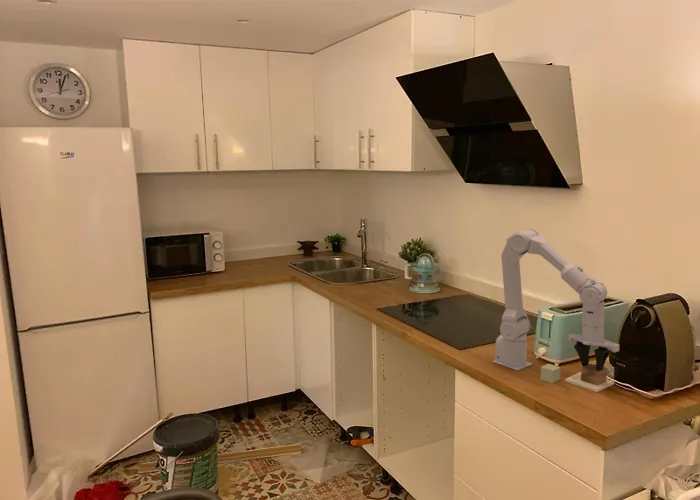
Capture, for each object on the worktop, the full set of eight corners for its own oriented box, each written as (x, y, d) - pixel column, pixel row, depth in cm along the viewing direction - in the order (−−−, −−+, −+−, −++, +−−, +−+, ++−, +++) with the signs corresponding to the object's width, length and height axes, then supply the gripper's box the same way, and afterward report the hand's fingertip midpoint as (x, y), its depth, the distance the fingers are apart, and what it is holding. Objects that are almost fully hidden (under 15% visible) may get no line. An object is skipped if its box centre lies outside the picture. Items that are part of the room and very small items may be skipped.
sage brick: (540, 379, 159) (540, 366, 159) (548, 376, 161) (548, 363, 161) (552, 383, 156) (552, 370, 155) (560, 380, 158) (560, 367, 158)
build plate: (564, 381, 157) (564, 378, 157) (583, 372, 163) (583, 369, 163) (597, 392, 149) (597, 388, 149) (615, 383, 155) (615, 379, 154)
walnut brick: (580, 380, 155) (581, 367, 155) (590, 376, 158) (590, 363, 158) (597, 385, 151) (597, 372, 151) (606, 381, 154) (607, 368, 154)
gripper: (562, 322, 156) (562, 366, 158) (610, 332, 145) (609, 380, 147) (575, 317, 160) (575, 360, 162) (623, 327, 149) (622, 373, 151)
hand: (592, 369), depth 155 cm, fingers closed on walnut brick, 4 cm apart
